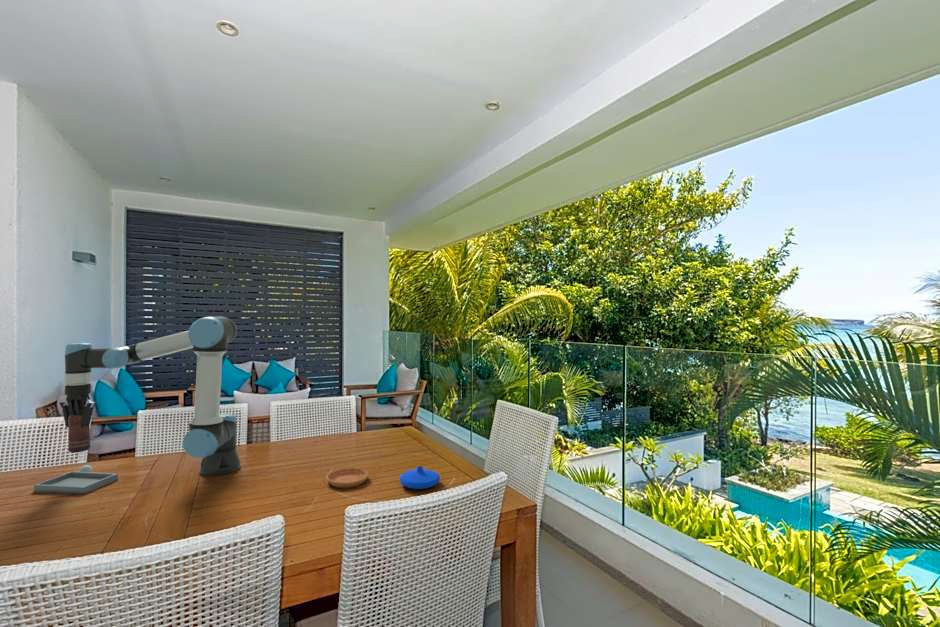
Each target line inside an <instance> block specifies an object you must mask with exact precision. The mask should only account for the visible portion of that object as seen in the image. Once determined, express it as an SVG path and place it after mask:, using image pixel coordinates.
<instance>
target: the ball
mask: <svg viewBox="0 0 940 627" xmlns="http://www.w3.org/2000/svg"><path fill="white" fill-rule="evenodd" d="M92 470H93V468H92V466H91V465H88V464H86V465H83V466H81V468H80V469H79V472H92Z"/></svg>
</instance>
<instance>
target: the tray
mask: <svg viewBox="0 0 940 627" xmlns="http://www.w3.org/2000/svg"><path fill="white" fill-rule="evenodd" d="M118 475H119V473H110V472H94V471H91V472H80V471H73V470H71V471H69V472H67V473H64V474H61V475H57V476H56V477H52V478H50V479H46V480H44V481H41V482H39V483H36V484H34V485H33V492H35V493H51V494H52V493H54V494H68V495H69V494H71V495H72V494H73V495H85V494H88V493H91V492H93V491H95V490H97V489H100V488H102V487H105V486H107V485H109V484H112V483H115V482H117V481H118V480H119V476H118Z"/></svg>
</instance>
